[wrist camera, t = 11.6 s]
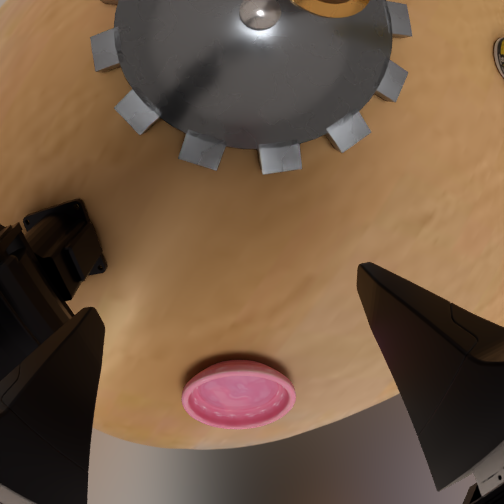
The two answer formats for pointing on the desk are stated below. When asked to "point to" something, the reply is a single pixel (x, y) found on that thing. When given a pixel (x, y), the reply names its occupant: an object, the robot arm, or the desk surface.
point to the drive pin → (334, 1)
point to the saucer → (238, 395)
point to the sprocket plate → (253, 71)
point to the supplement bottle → (499, 55)
